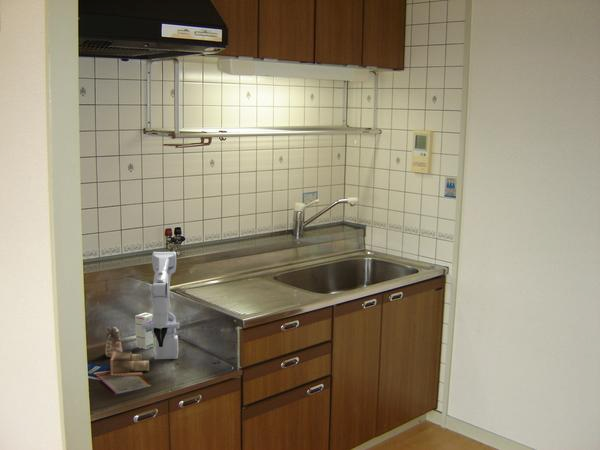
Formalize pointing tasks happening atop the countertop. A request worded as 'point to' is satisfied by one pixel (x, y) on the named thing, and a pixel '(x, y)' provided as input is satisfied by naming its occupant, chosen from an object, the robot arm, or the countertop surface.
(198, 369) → the countertop surface
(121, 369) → the block
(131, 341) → the countertop surface
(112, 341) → the figurine
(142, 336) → the syrup box
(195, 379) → the countertop surface
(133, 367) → the dowel
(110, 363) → the end wall and guide rails
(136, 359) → the short dowel
